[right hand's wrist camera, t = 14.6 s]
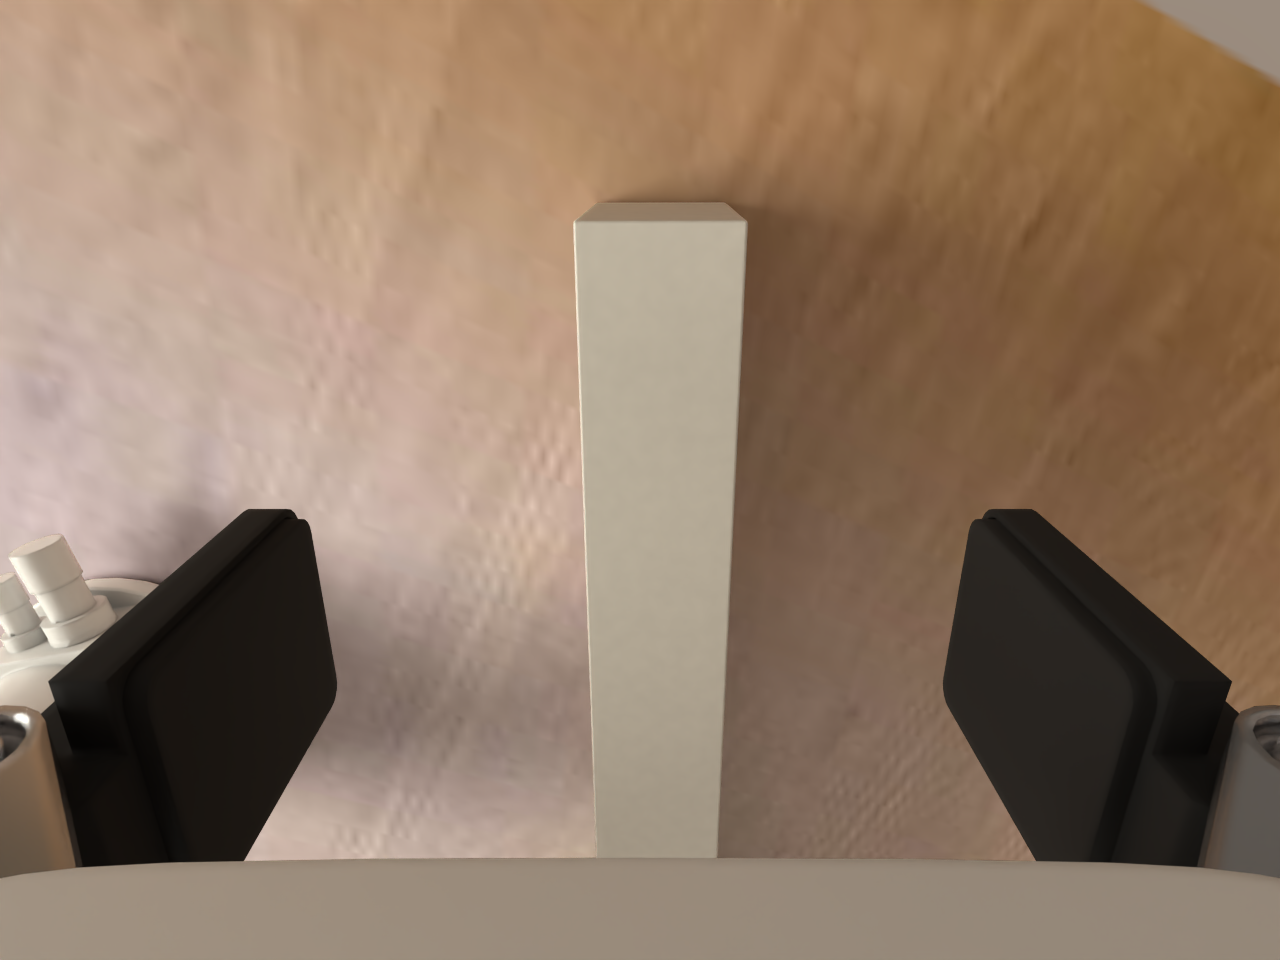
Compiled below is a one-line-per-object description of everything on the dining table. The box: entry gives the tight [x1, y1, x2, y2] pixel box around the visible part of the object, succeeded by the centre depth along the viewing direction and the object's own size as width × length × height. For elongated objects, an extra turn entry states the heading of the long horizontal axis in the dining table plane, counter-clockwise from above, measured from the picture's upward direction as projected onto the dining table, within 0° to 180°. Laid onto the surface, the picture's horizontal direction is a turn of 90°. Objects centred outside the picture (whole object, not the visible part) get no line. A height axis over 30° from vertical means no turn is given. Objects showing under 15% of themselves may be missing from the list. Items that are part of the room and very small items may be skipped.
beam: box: [573, 202, 748, 858], centre depth 35 cm, size 55×5×8 cm, turn 0°
